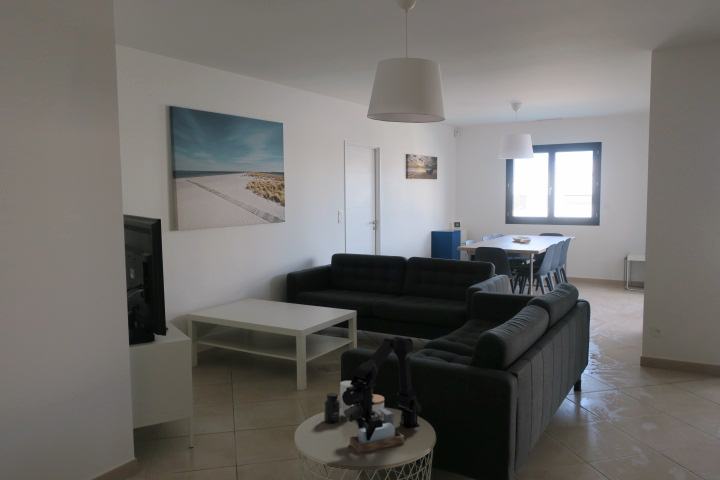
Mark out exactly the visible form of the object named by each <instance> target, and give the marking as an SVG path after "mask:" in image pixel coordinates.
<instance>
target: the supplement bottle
mask: <svg viewBox="0 0 720 480" xmlns="http://www.w3.org/2000/svg"><path fill="white" fill-rule="evenodd" d="M338 398H339V397H338V393H335V392H328V393H327V394H326V400H325V401H324V404H323V405H324V406H323V407H324V408H323V409H324V412H323V420H324V422H325V423H327V424H330V425H331V424H338V423H339V422H340V414H341V410H340V409H341V401H340V399H338Z"/></svg>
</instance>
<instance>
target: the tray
mask: <svg viewBox="0 0 720 480" xmlns="http://www.w3.org/2000/svg"><path fill="white" fill-rule="evenodd" d="M404 443H405V435H403V434H402V433H401V432H399V431H398V430H397V429H395V437H392V438H388V439H383V440H378V441H373V442H369V443H364V444H359V434H358V435H354V436H353V435H352V436H349V445H350V446H351V447H352V448H353V449H354V450H355V451H356V452H358V453H359V454H360V453H365V452H370V451H376V450H379V449H383V448H389V447H392V446H397V445H401V444H404Z"/></svg>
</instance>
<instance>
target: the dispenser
mask: <svg viewBox="0 0 720 480" xmlns="http://www.w3.org/2000/svg"><path fill="white" fill-rule="evenodd" d="M379 411H380V412H381V414H379V413H378V412H377V411H375V410H373V412H374V415H373V417H375V414H377V415H378V418H379V419H380V420H382V421H383V424H385V423H391V424H392V425H394V422H395V421H394V418H395V417H394V414H395V413H393V412H392V411H390V410H388V409H387V408H385V407H384V408H383V409H379ZM382 414H383V415H382ZM394 426H395V425H394Z"/></svg>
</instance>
